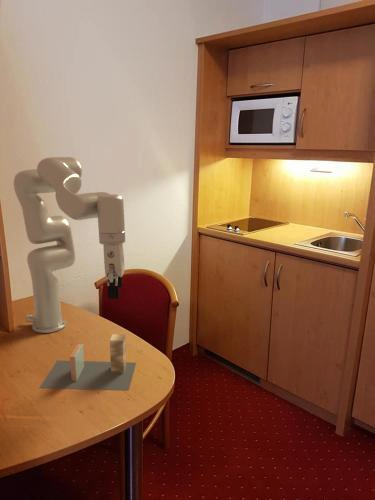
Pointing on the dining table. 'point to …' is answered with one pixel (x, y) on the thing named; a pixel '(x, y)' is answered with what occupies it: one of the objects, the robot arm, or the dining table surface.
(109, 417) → the dining table surface
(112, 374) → the mat
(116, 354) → the light wood block
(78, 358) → the tile
